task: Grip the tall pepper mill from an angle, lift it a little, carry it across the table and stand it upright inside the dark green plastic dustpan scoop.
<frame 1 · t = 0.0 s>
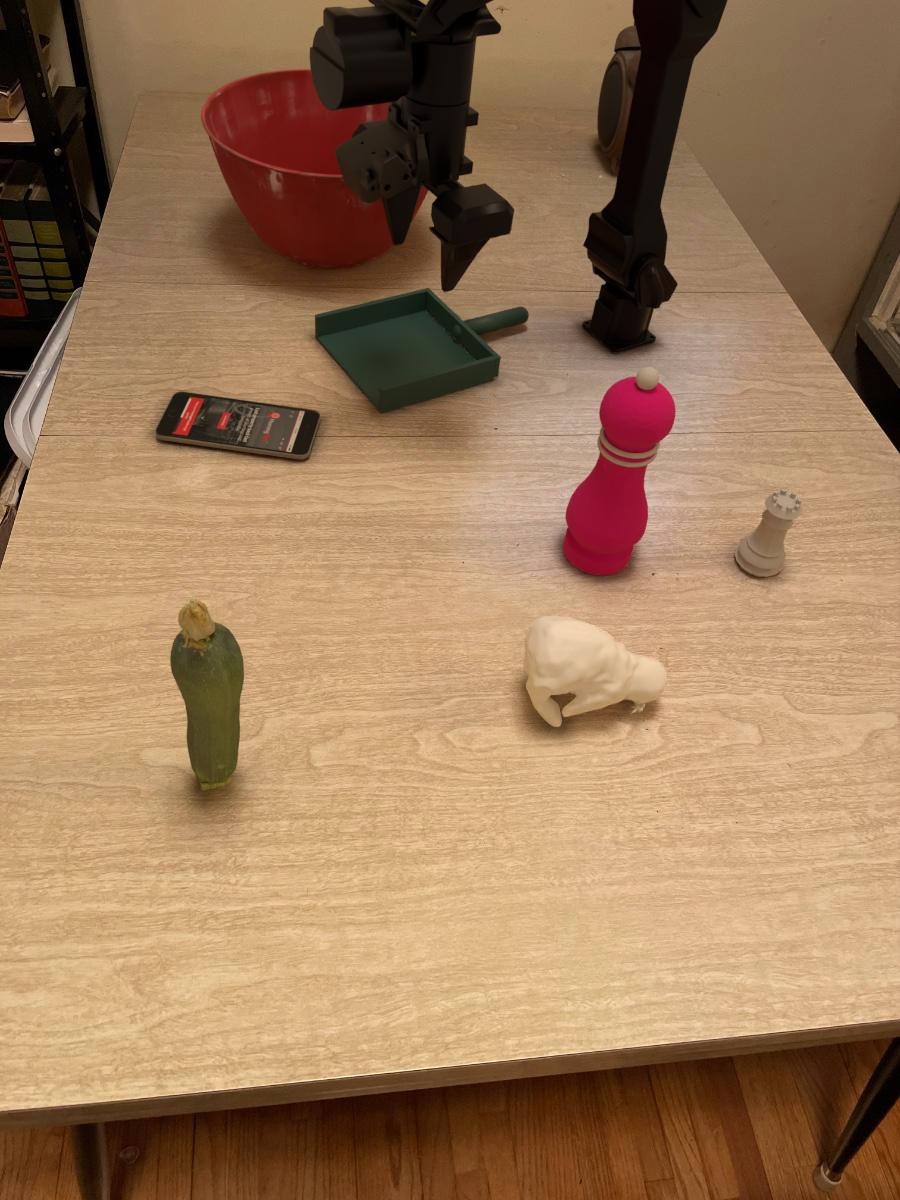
hand: (422, 266, 91), 15 cm above the table, tool pointing down, fingers open, 9 cm apart
rook chess piece: (756, 563, 90), on the table
pepper mill: (595, 553, 89), on the table
cream lumpy piece: (586, 699, 77), on the table
scoop: (403, 358, 106), on the table
vegetable: (223, 777, 70), on the table
smartphone: (240, 429, 96), on the table
mixing bowl: (328, 244, 122), on the table
alarm clock: (616, 163, 147), on the table
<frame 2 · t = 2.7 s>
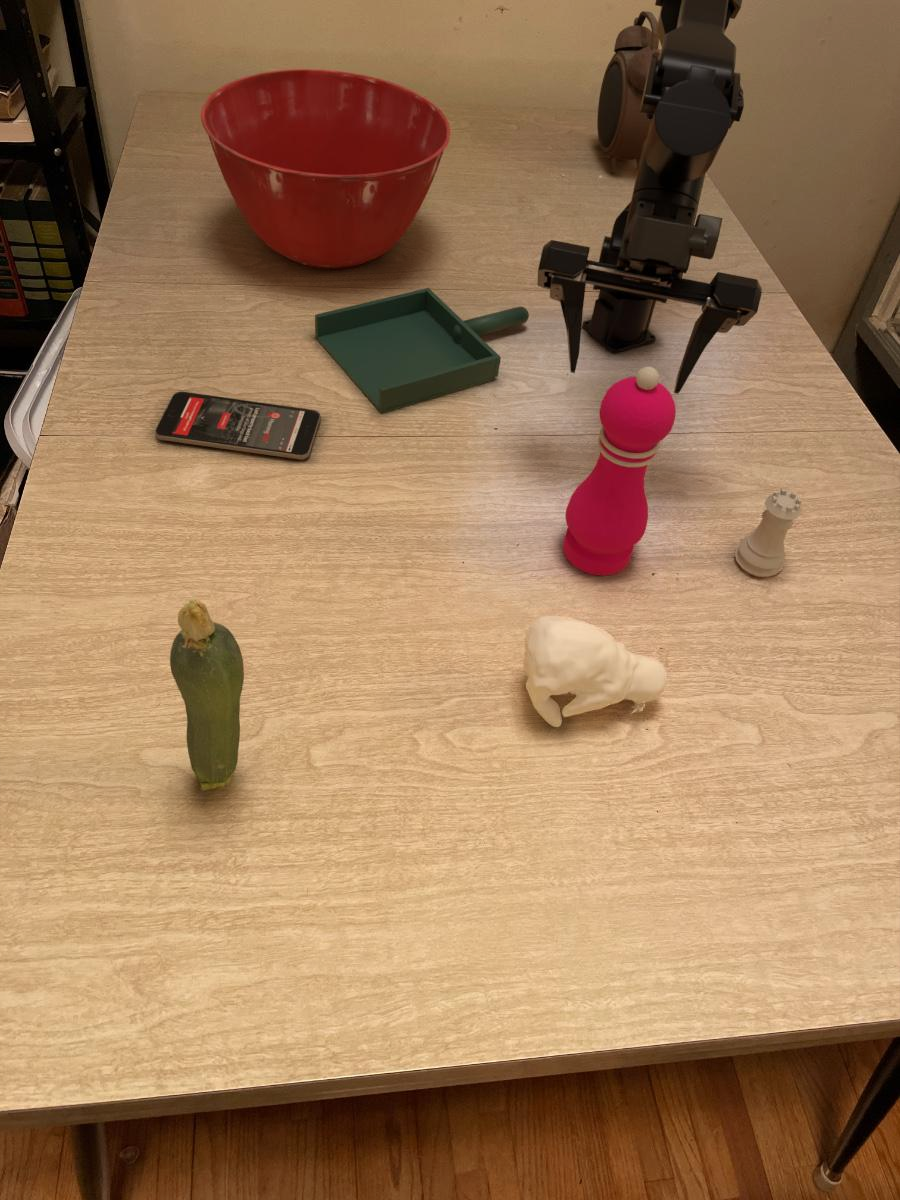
hand: (624, 382, 84), 13 cm above the table, tool tilted 45°, fingers open, 9 cm apart
nothing on the table moved.
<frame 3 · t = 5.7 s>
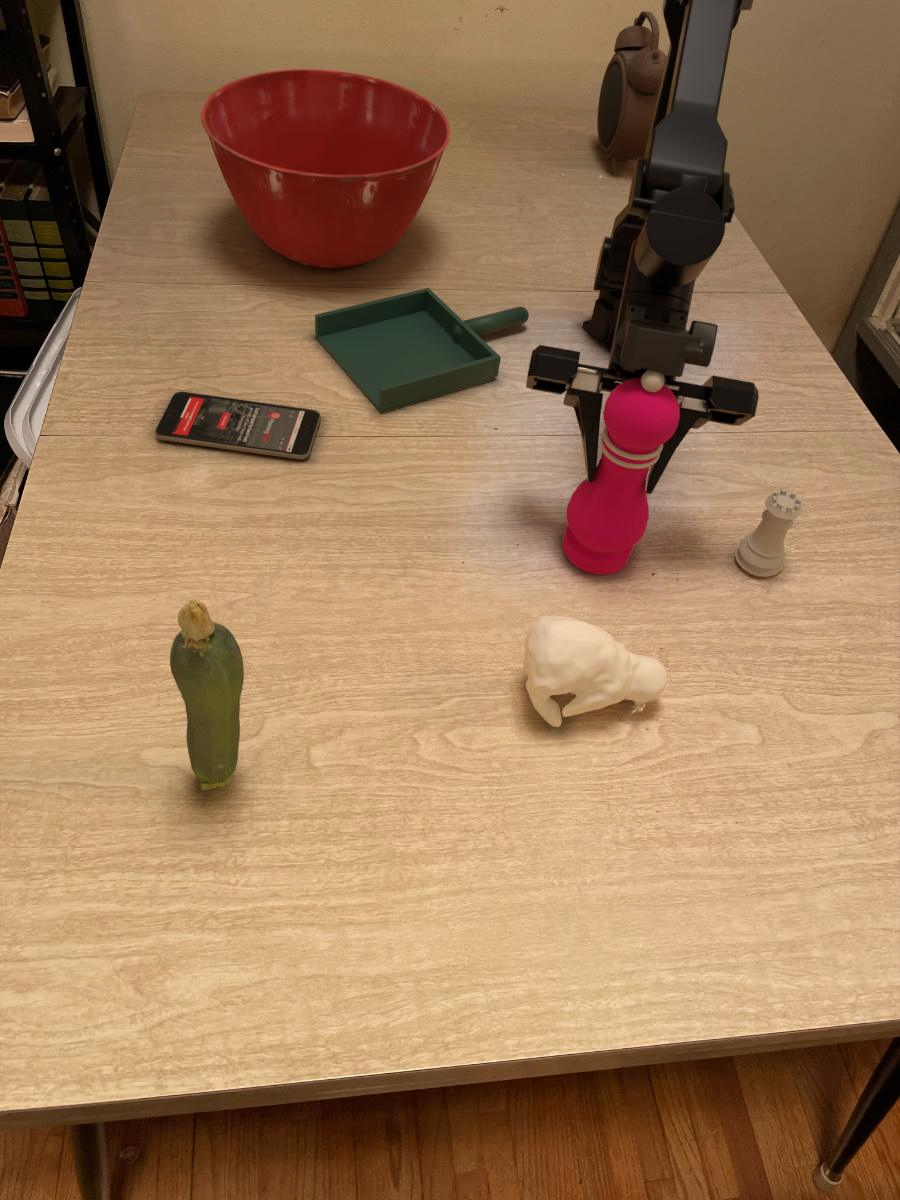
hand: (619, 487, 81), 9 cm above the table, tool tilted 45°, fingers closed on pepper mill, 5 cm apart
pepper mill: (594, 551, 89), on the table, touching gripper
everything else where it was.
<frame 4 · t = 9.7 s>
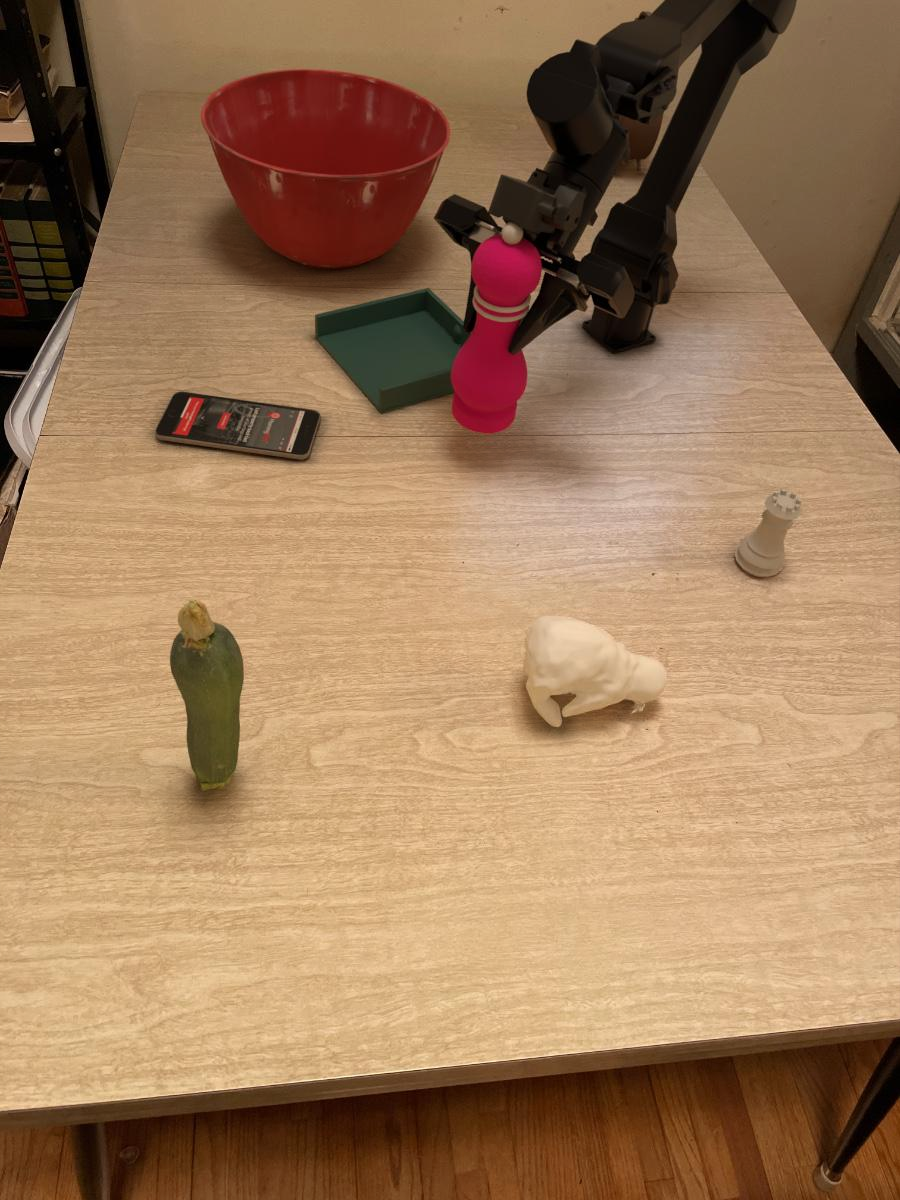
hand: (487, 342, 86), 13 cm above the table, tool tilted 45°, fingers closed on pepper mill, 4 cm apart
pepper mill: (482, 414, 94), point 4 cm above the table, touching gripper
everything else where it was.
when the fingers open (10 cm above the table, at t = 14.0 s): pepper mill stays where it is, resting on scoop.
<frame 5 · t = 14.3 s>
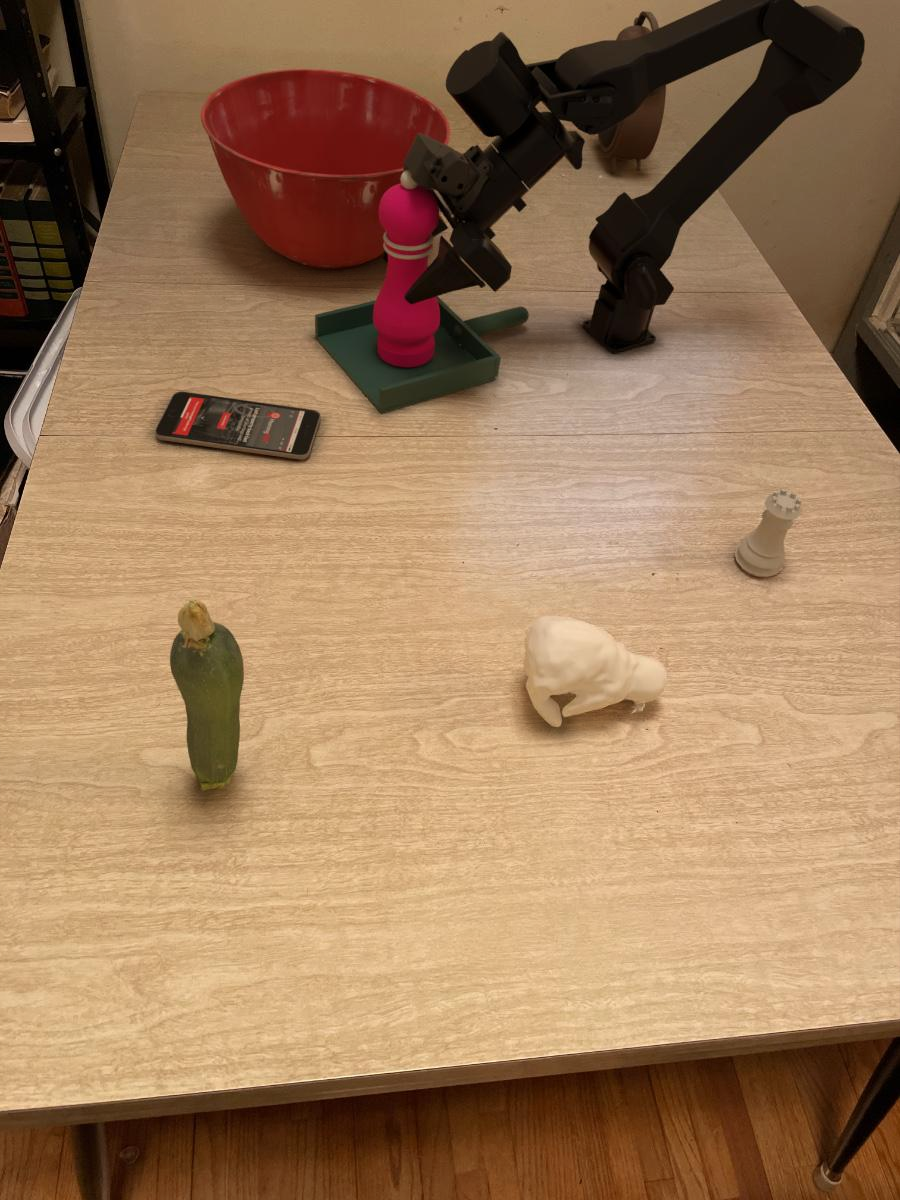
hand: (395, 280, 99), 10 cm above the table, tool tilted 45°, fingers open, 8 cm apart
pepper mill: (405, 353, 107), resting on scoop, touching gripper
everything else where it was.
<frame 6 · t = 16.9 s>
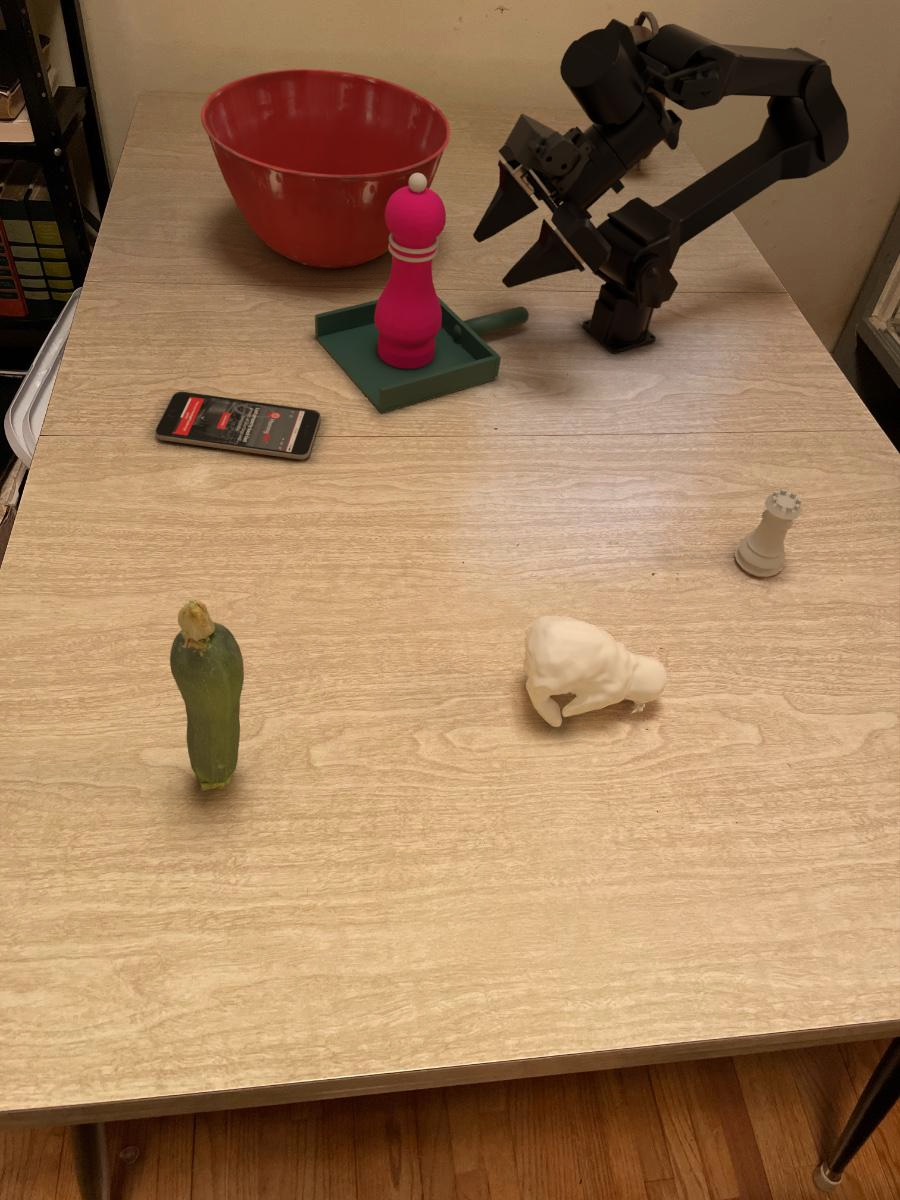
hand: (489, 261, 100), 12 cm above the table, tool tilted 45°, fingers open, 9 cm apart
pepper mill: (405, 354, 107), resting on scoop
everything else where it was.
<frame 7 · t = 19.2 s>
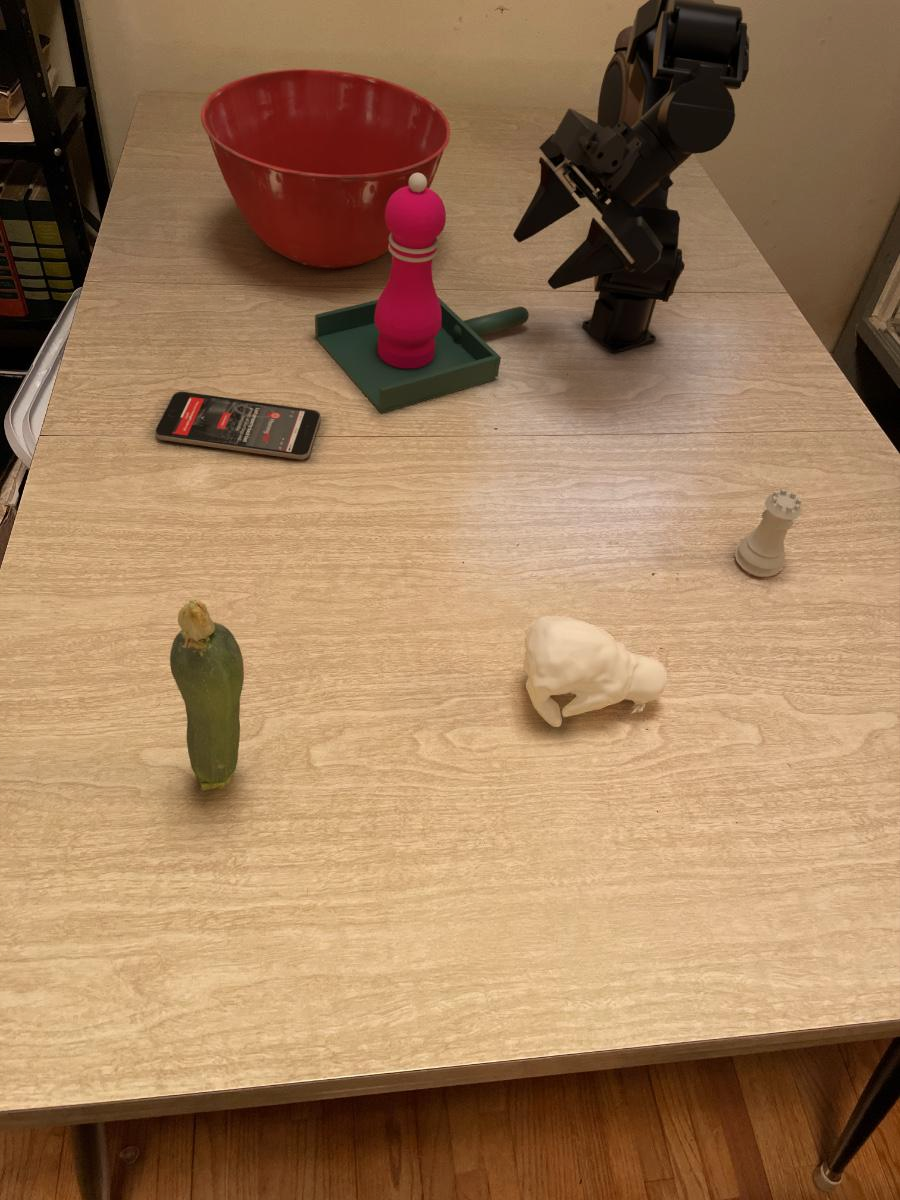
hand: (532, 261, 96), 14 cm above the table, tool tilted 45°, fingers open, 9 cm apart
nothing on the table moved.
at the end: pepper mill inside the target area in the scoop (0.6 cm from its centre), point 0.2 cm above the scoop's base; pepper mill tilted 0°; the gripper is holding nothing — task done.
